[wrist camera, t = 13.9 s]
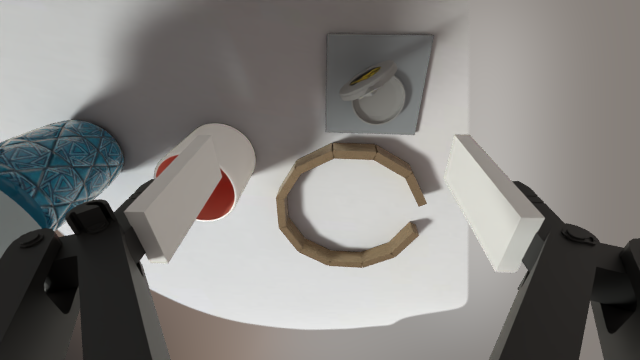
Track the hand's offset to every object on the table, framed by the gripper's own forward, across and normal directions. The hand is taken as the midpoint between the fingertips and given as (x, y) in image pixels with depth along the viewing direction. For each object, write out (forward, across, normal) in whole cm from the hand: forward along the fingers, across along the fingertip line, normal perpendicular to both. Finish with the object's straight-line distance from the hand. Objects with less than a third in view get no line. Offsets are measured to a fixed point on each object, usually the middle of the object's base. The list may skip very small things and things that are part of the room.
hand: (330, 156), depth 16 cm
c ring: (+23, +2, -22) cm, 31 cm away
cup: (+23, -16, -12) cm, 31 cm away
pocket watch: (+23, +5, -3) cm, 23 cm away
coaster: (+23, +5, -3) cm, 24 cm away
